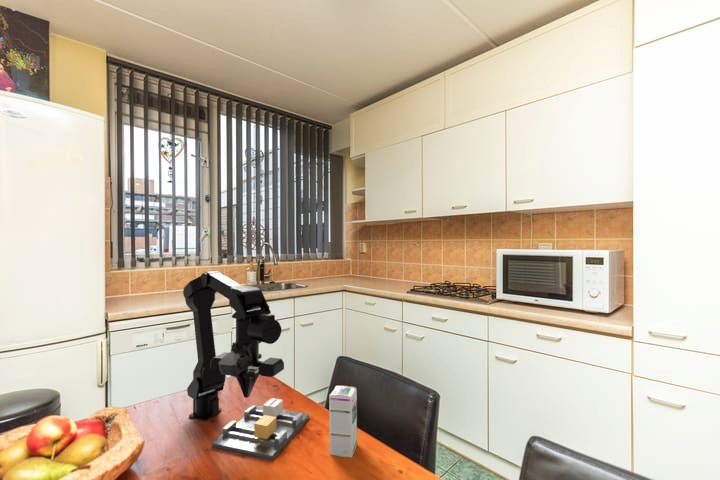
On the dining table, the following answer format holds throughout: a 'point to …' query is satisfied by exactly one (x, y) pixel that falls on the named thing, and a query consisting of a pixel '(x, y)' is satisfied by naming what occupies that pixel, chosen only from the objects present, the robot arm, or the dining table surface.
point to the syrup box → (343, 421)
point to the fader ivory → (273, 407)
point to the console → (245, 443)
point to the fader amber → (265, 427)
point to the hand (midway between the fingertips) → (246, 397)
